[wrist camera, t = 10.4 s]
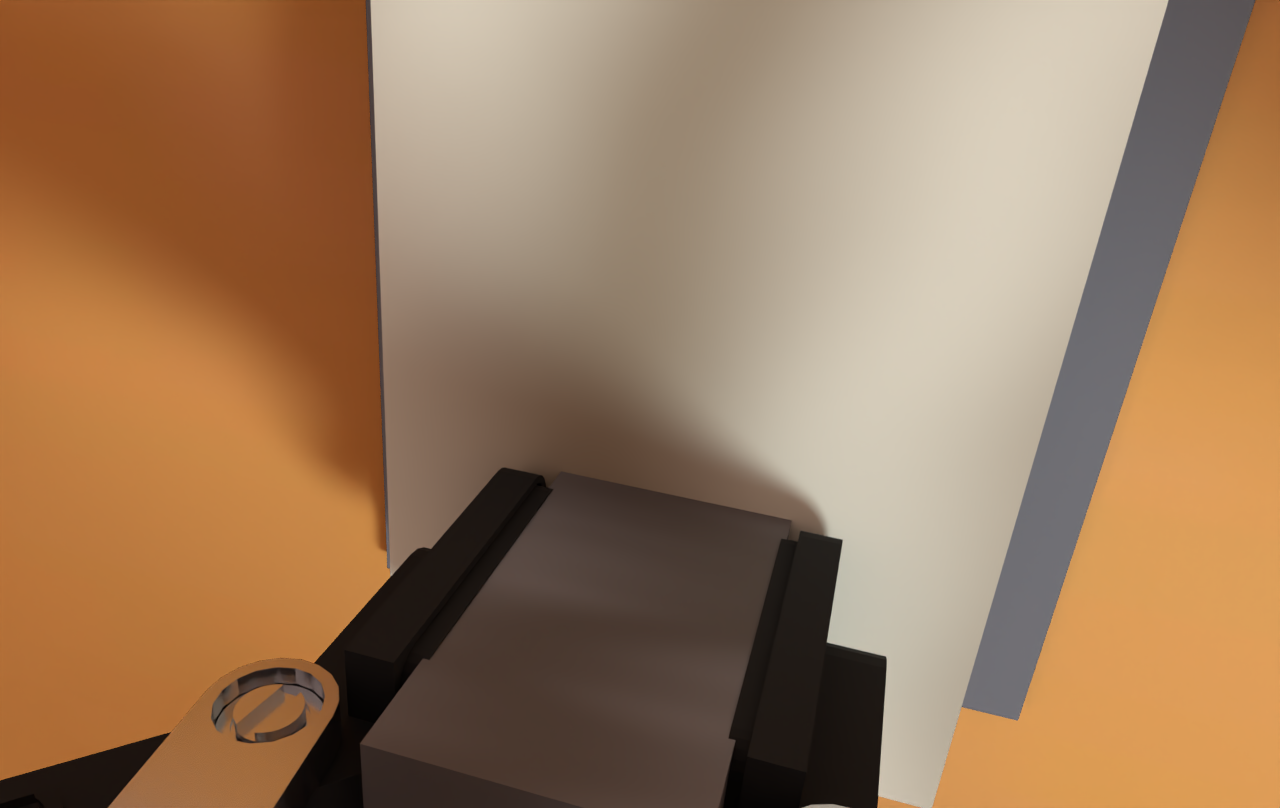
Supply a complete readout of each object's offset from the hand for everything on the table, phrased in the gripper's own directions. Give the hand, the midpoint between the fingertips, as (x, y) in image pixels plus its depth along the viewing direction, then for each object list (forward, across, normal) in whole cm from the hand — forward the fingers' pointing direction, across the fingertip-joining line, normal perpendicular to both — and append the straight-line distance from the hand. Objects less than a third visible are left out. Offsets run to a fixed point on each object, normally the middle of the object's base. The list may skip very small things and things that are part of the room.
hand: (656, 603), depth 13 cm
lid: (+1, 0, -4) cm, 5 cm away
